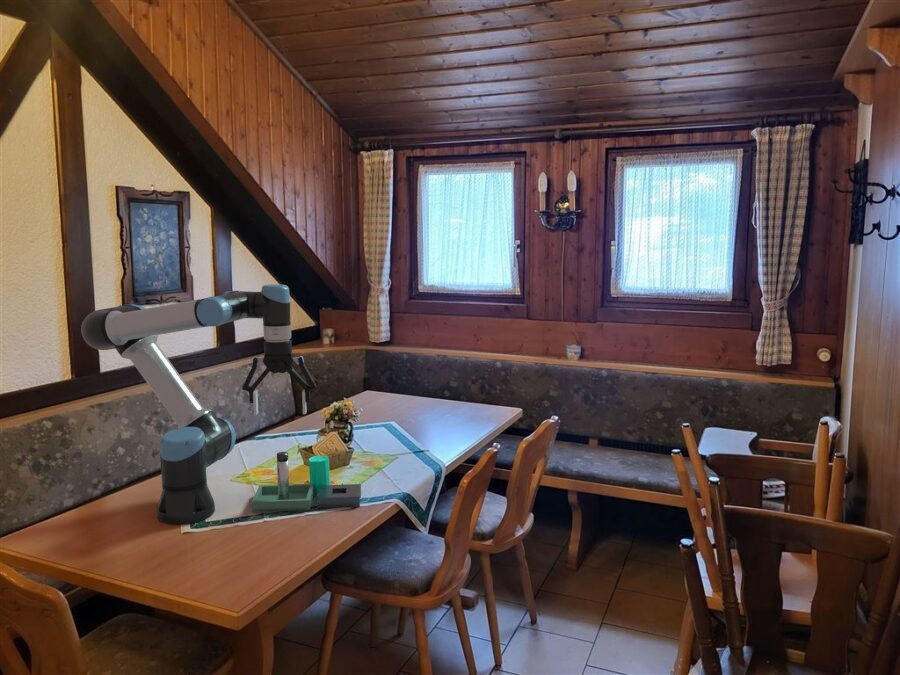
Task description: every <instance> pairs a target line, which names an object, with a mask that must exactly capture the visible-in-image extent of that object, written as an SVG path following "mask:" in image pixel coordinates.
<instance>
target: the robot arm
mask: <svg viewBox="0 0 900 675" xmlns="http://www.w3.org/2000/svg"><path fill="white" fill-rule="evenodd" d="M291 302H292V300H291V296H290V288H289V286H288V285H286V284H277V283H276V284H264V285H262V287H261V291H243V290H241V291H240V290H230V291H229V290H228V291H224V292H223V293H222V294H220V295H216V296H215V295H214V296H209V297H204V298H200V299H194V300H188V301H183V302H178V303H177V302H176V303H171V304H167V305H166V304H164V305H160V306H155V307H149V308H145V307H144V306H142V305H138V304H121V305H118V306H113V307H109V308H102V309H97V310H94V311H91V312H90V313H88V314H87V315H86V317H85V318H84V319H83V321H82V324H81V328H80V333H81V337H82V338H83V341H85V343H86V344H87V345H88V346H90V347H91V348H93V349H95V350H99V351H109V350H110V351H111V350H116V351H117V353H118V354H119V355H120V357H121V359H128V360H130V361H131V363H132V364H133V365H134V367H135V368H136V370H137V371H138V373H139V374H140V375H141V377H142V378H143V379H144V380H145V382H146V383H147V385H148V386H149V388H150V389H151V390H152V392H153V393H154V395H155V396H156V397H157V398H158V400H159V402H160V403H161V404H162V405H163V406H164V408H165V410H166V411H167V412H168V414H169V415H170V416H171V417H172V419H173V421H174V422H175V424H176V425H177V429H171V430H169V431H167V432H166V433H165V434H163V435H162V437H161V438H160V440H159V452H158V454H159V458H160V471H161V472H160V474H161V485H162V486H161V487H162V490H161V494H160V499H159V502H158V504H157V508H156V509H157V510H156V516H157V519H158V521H159V522H161V523H163V524H167V525H187V524H192V523H196V522H201V521H203V520H206V519H208V518H210V517H211V516H213V515H214V513H215V512H216V507H215V506H216V505H215V501H214V498H213V495H212V493H211V490H210V488H209V486H208V481H207V480H208V479H207V468H208V467H210V466H211V465H213V464H215V463H217V462H218V461H220V460H223V459H224V458H225V457H226V456H227V455H228V454H230V453H231V452H232V451H233V449H234V448H235V445H236V439H237V438H236V437H237V436H236V431H235V428H234V426H233V425H232V424H231V422H230V421H229V420H227V419H226V418H223V417H218V416H217V415H216V414H215V412H214V411H213V410H212V409H209V408H205V407H203V405H202V404H201V402H200V401H199V400H198V398H197V397H196V395H195V394H194V393H193V392H192V390H191V388H190V387H189V386H188V385H187V383H186V382H185V381H184V379H183V378H182V376H181V375H180V373H179V372H178V371H177V369H176V368H175V367H174V365H173V364H172V362H171V361H170V360H169V359H168V357H167V355H166V353H165V352H164V351H163V350H162V349H161V347H160V346H159V344H158V343H157V341H158V337H159V336H161V335H166V334H171V333H178V332H184V331H189V330H196V329H200V328H201V329H202V328H206V327H218V326H222V325H224V324H228V323H233V322H236V321H239V320H243V319H258V320H259V319H262V322H263V323H262V325H263V326H262V328H263V339H264V342H263V350H264V351H263V354H264V357H259V356H258V355H257V356H254V357H253V359H252V365H251V368H250V370H249V372H248V374H247V377H246V379H245V381H244V383H243V384H242V387H241V388H242V390H243V391H247V392H248V393H249V394H248V396H249V403H250V404H252V405H253V416H257V415H259V400H258V399H259V398H258V397H259V395H258V394H259V393H258V390H255V389H256V388H257V387H258V386H259V385H260V384H261V383H262V381H263V380H264V379H265V378H266V376H267V375H268V374H269V373H272V374H277V373H279V374H285V373H287V374H289V375H290V377H292V379H294V381H296V382H297V384H298V385H299V386H300V387H301V388H302V389H303V390H302V392H301V393H302V394H301V395H302V396H301V397H302V398H301V399H302V403H301V404H302V415H306V414H307V410H308V409H307V403H310V401H311V391H312V390H315V389H316V387H317V383H316V381H315V380H314V378H313V376H312V375H311V372H310V370H309V369H308V367H307V365H306V364H305V358H304V356H303V355H300V356H295V357H294V356H293V351H292V350H293V349H292V348H293V347H292V344H293V343H292V340H290V339H291V338H292V324H291V323H292V322H291ZM294 362H295V363H296V365H298V366H299V369H300V370H301V372H302V374H303V376H304V378H305V379H306V380H304V379H303V378H302V377H301V375H300V374H299V373H298V372H297V371H296V370H295V368H294V367H293V366H292V365H293V363H294ZM262 363H263V364H264V365H265V367H266V368H265V369H264V371H263V372H262V373H261V374H260V375H259V377H257V379H256V380H255V381H254V383H252V385H250V384H251V382H252V380H253V377H254V375H255V373H256V371H257V369H258V366H260V365H261V364H262ZM306 381H307V382H306Z"/></svg>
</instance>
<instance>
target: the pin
mask: <svg viewBox="0 0 900 675" xmlns="http://www.w3.org/2000/svg"><path fill="white" fill-rule="evenodd" d="M276 473H277V474H276V475H277V478H276V479H277V485H278V500H289V484H290V476H289V475H290V474H289V452H287V451H279V452H277V453H276Z"/></svg>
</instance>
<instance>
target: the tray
mask: <svg viewBox="0 0 900 675" xmlns="http://www.w3.org/2000/svg"><path fill="white" fill-rule="evenodd" d="M314 495H315V494H314V484H310V483H294V484H293V483H292V484H290V483H289V500H278V484H263V485H262V484H261V485H259V486H258V487H257V490H256V491H255V494H254V496H253V498H252V500H251V513H269V512H298V511H299V512H301V511H302V512H303V511H310V510H311V506H312V503H313V499H314V497H315V496H314Z"/></svg>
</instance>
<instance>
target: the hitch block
mask: <svg viewBox="0 0 900 675" xmlns="http://www.w3.org/2000/svg"><path fill="white" fill-rule="evenodd" d="M361 497H362V484H361V483H355V484H354V483H353V484H350V483H349V484H330V485H320V488H319V492H318V494H317V497H316V503H317V504H316V507H317V509H326V508H331V509H332V508H355V507H356V508H359V507H361Z"/></svg>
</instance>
